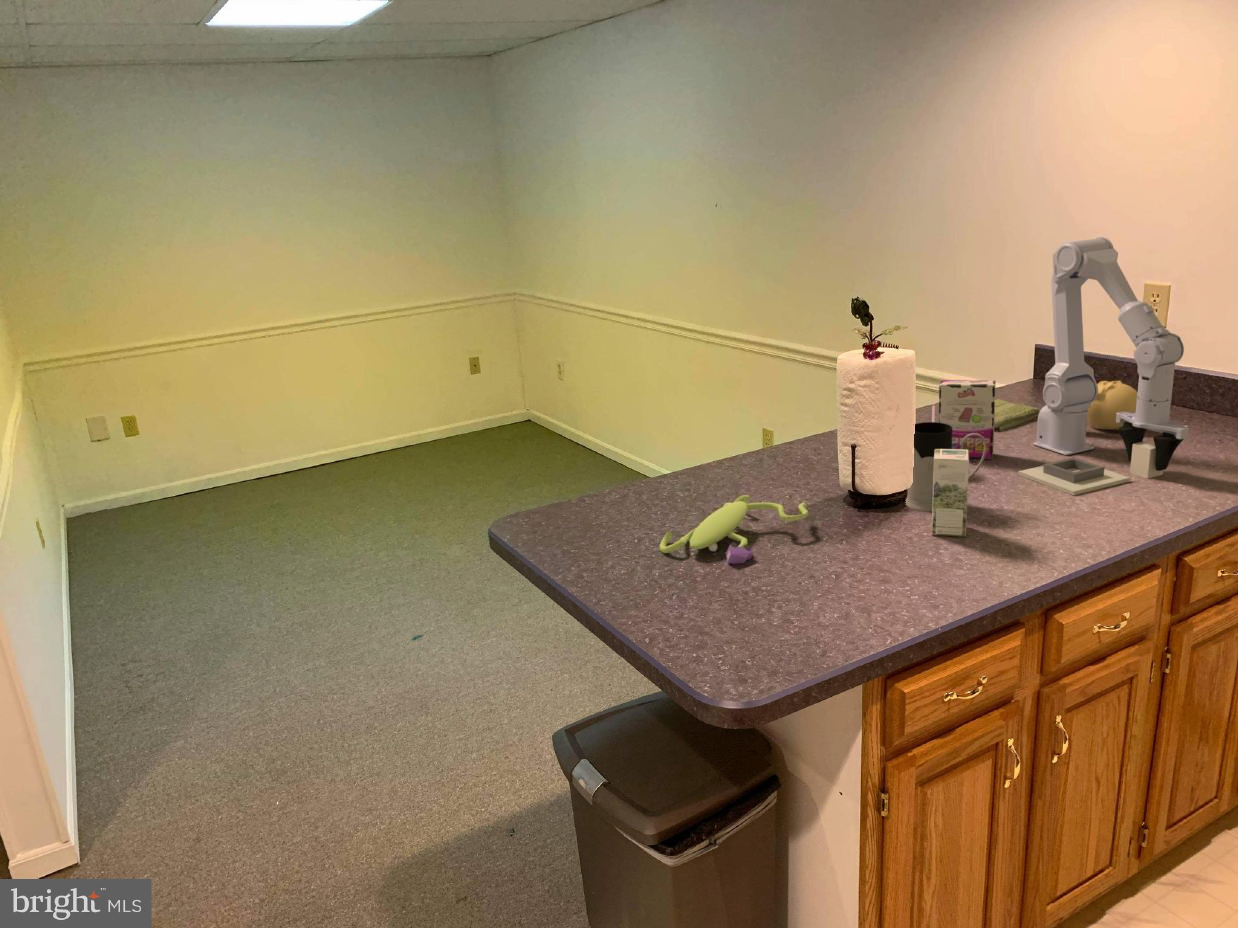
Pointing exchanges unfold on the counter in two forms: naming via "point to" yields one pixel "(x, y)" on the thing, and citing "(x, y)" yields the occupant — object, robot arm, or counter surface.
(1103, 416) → the sculpture
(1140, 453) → the block
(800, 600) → the counter surface
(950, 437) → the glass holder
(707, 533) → the figurine
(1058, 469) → the charging dock
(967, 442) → the candy bar box
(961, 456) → the syrup box
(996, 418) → the washcloth
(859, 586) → the counter surface
